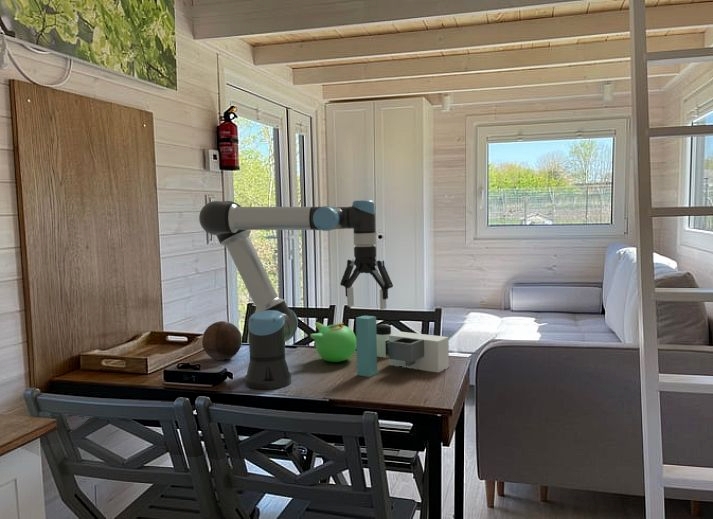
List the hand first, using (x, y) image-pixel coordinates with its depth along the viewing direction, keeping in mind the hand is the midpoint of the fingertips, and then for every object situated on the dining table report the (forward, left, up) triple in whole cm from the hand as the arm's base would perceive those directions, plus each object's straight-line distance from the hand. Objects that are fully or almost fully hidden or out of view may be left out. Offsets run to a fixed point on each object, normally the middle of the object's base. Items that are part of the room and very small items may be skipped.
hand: (366, 307), depth 201 cm
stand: (+10, +18, -23) cm, 31 cm away
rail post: (0, 0, -23) cm, 23 cm away
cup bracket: (+10, +10, -21) cm, 25 cm away
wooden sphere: (-60, -12, -24) cm, 66 cm away
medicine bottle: (-10, +26, -24) cm, 36 cm away
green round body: (-21, +9, -24) cm, 33 cm away
